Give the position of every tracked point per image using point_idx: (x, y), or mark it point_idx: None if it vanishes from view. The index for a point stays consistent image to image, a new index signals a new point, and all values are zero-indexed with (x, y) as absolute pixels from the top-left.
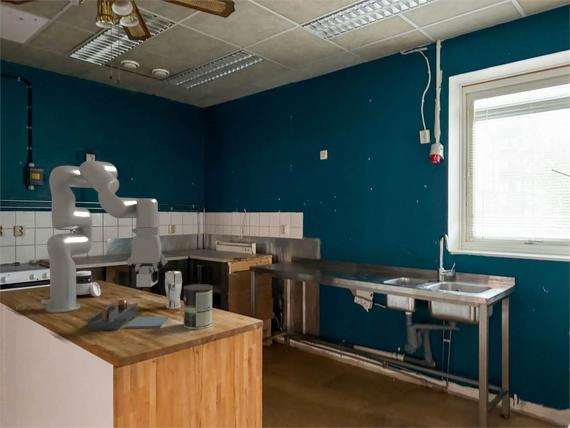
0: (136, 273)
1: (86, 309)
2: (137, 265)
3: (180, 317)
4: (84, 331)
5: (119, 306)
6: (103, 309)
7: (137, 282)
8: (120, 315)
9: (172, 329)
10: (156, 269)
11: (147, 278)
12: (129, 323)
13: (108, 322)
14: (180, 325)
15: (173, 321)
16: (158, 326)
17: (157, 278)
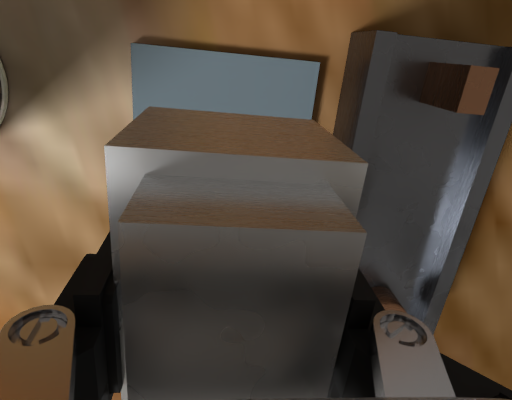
0: (375, 305)
1: (508, 363)
2: (423, 396)
3: (80, 231)
4: (503, 38)
5: (392, 295)
6: (488, 67)
7: (315, 130)
8: (366, 98)
9: (49, 5)
10: (30, 329)
11: (177, 130)
12: (307, 113)
13: (414, 37)
14: (29, 83)
15: (95, 165)
16: (138, 44)
17: (86, 258)
